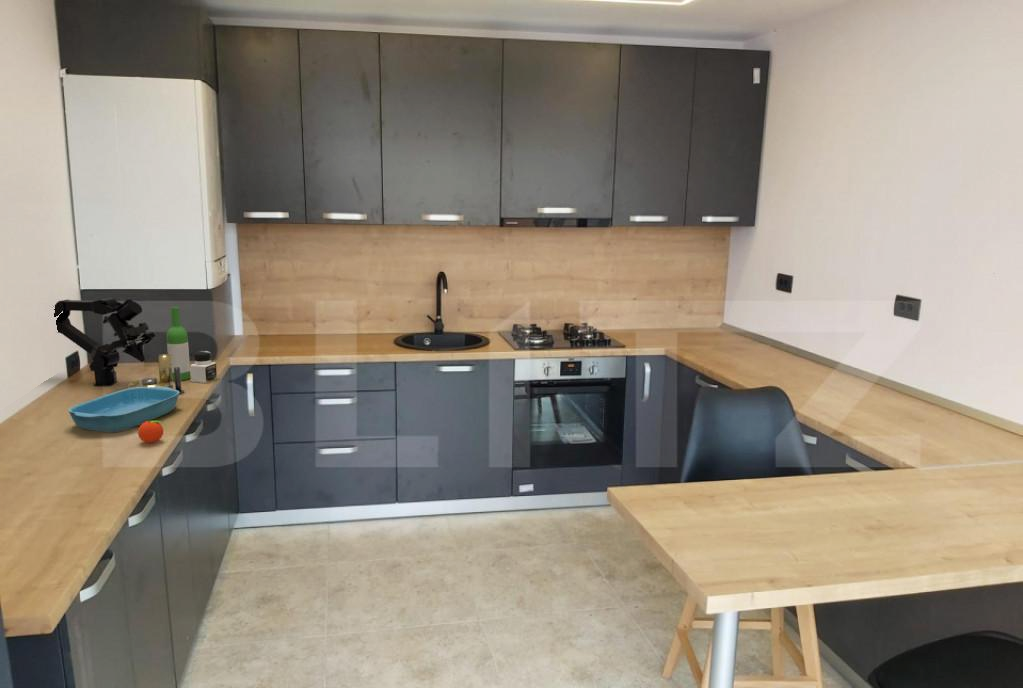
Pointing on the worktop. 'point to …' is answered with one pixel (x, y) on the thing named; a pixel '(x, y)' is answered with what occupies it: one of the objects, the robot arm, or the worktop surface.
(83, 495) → the worktop surface
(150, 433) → the tomato
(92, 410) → the casserole dish
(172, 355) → the wine bottle
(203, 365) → the medicine bottle
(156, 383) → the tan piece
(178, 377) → the stop post
